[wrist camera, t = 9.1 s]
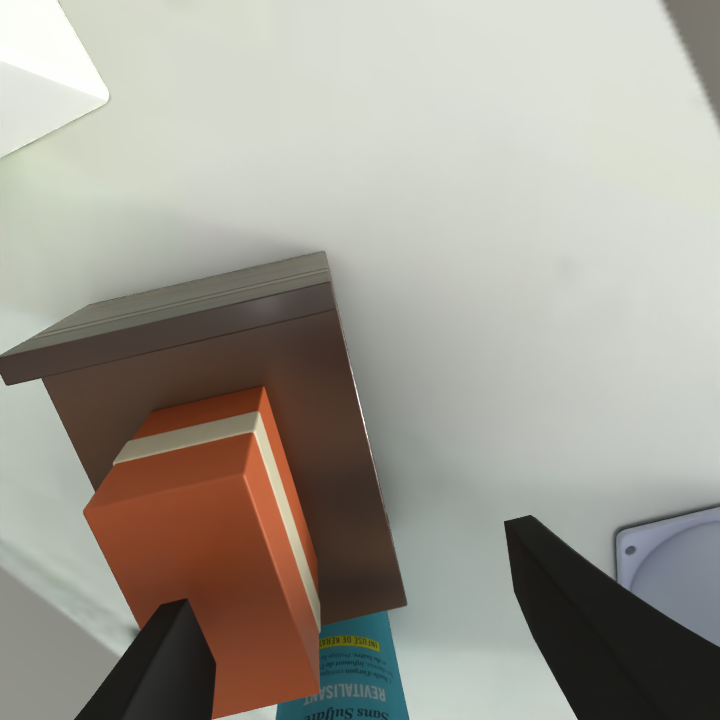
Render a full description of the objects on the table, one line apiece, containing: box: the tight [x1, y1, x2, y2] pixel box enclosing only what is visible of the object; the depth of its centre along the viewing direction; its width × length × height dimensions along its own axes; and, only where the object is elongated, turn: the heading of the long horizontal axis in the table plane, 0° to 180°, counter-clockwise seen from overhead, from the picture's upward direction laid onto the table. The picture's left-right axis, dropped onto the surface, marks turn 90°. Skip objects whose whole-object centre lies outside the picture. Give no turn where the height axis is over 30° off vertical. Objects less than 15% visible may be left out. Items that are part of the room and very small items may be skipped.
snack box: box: [83, 386, 321, 720], centre depth 14 cm, size 7×4×5 cm, turn 12°
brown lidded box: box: [0, 251, 407, 626], centre depth 18 cm, size 13×9×6 cm
